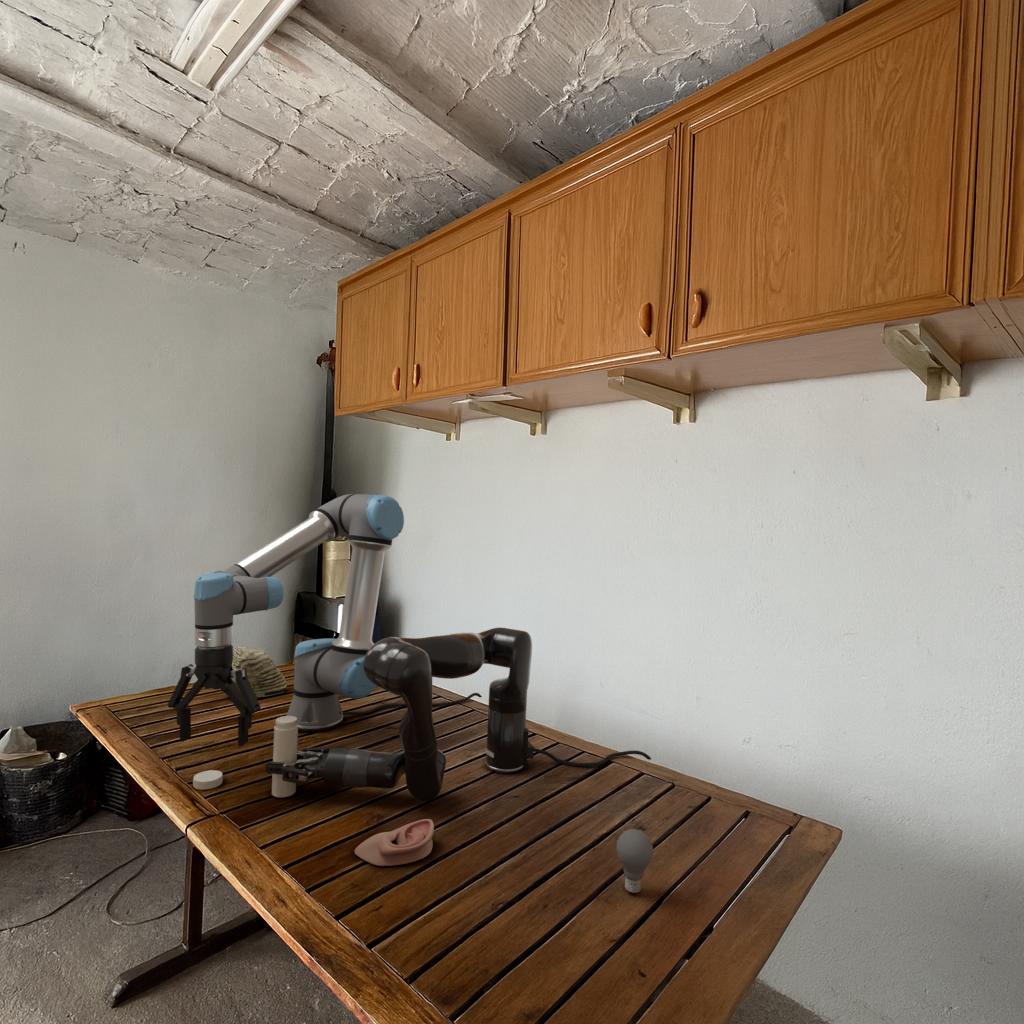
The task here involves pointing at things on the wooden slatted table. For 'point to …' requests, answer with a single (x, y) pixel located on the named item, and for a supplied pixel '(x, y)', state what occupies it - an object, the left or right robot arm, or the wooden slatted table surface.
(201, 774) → the lid
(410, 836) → the anatomical model
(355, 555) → the left robot arm
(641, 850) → the light bulb
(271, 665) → the fossil
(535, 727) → the wooden slatted table surface
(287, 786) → the jar
